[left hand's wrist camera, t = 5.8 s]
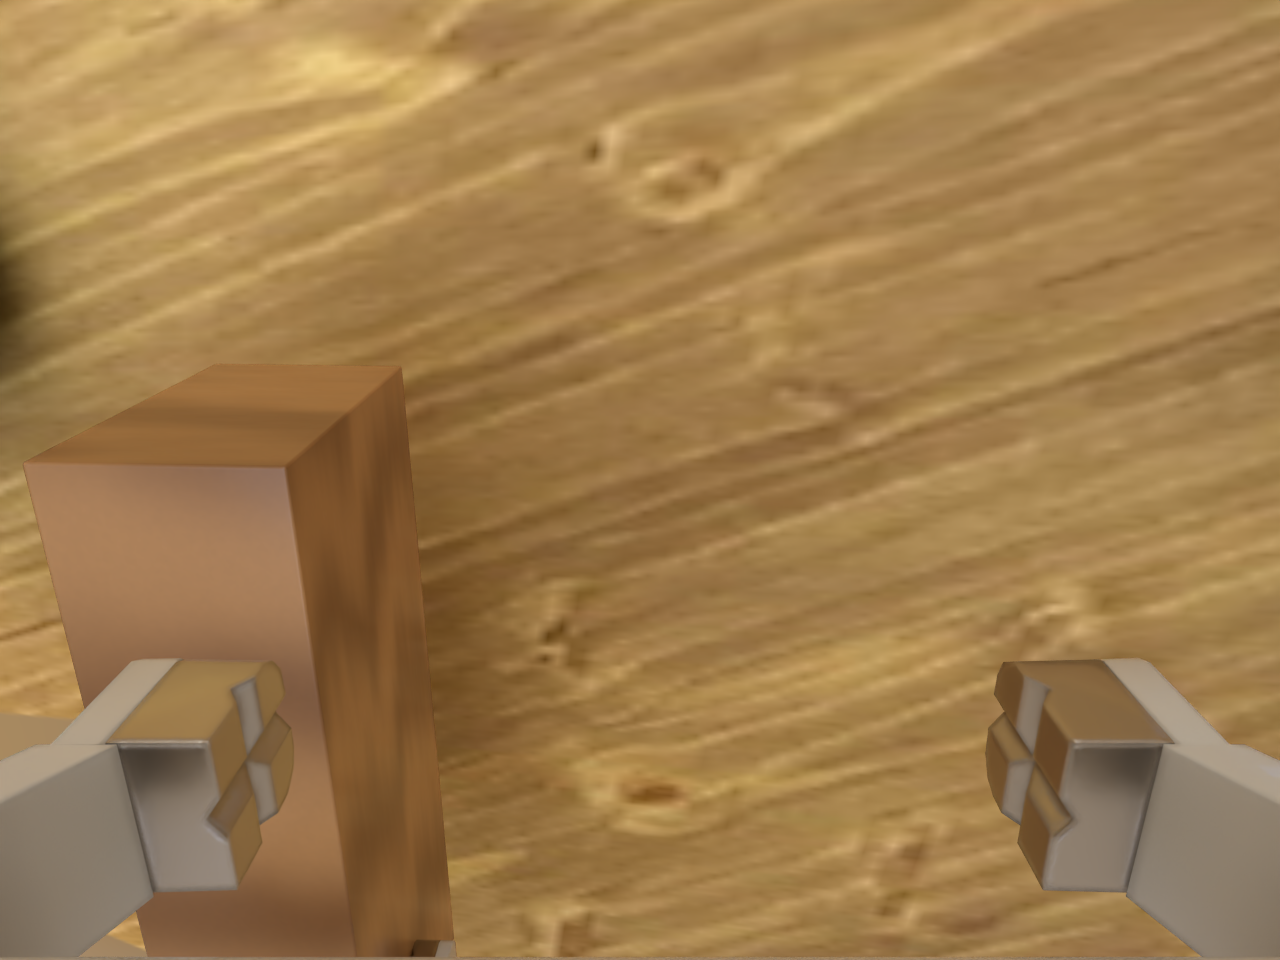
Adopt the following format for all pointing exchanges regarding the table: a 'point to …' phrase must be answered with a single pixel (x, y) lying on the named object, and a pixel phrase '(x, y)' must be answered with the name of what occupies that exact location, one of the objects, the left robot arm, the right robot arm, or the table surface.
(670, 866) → the table surface
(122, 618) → the box
